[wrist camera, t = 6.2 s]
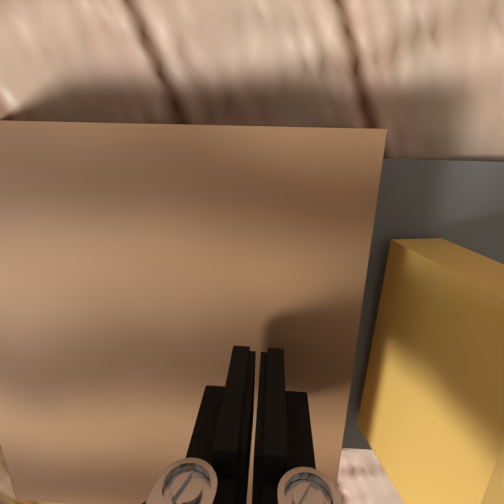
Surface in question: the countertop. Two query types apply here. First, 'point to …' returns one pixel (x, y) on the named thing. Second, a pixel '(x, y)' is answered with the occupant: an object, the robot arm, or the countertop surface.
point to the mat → (424, 236)
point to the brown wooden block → (170, 288)
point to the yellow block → (438, 374)
